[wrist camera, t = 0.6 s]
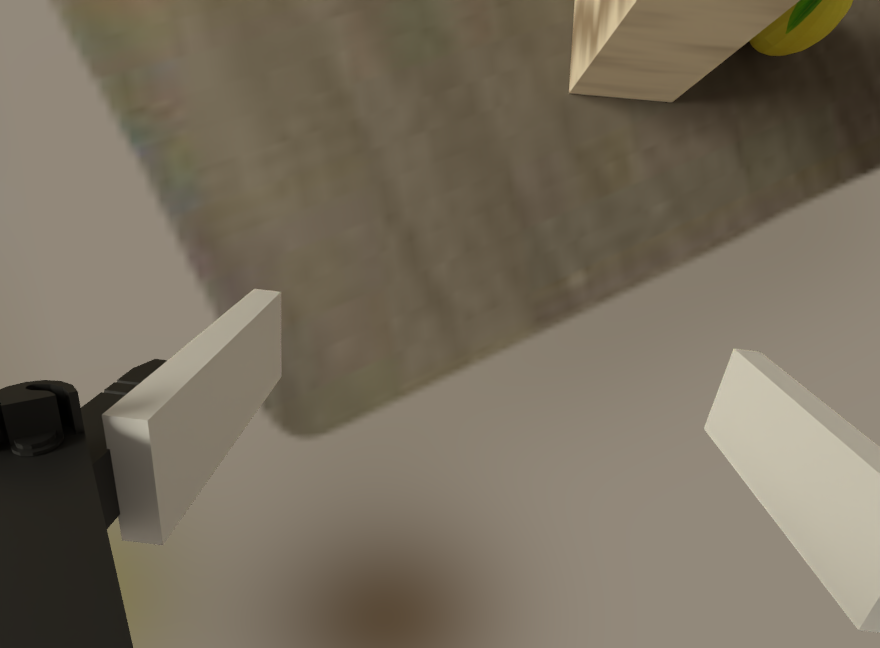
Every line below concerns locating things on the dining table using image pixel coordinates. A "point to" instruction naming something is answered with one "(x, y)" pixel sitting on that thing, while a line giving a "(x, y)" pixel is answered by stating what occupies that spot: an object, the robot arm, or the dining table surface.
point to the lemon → (800, 26)
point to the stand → (659, 43)
